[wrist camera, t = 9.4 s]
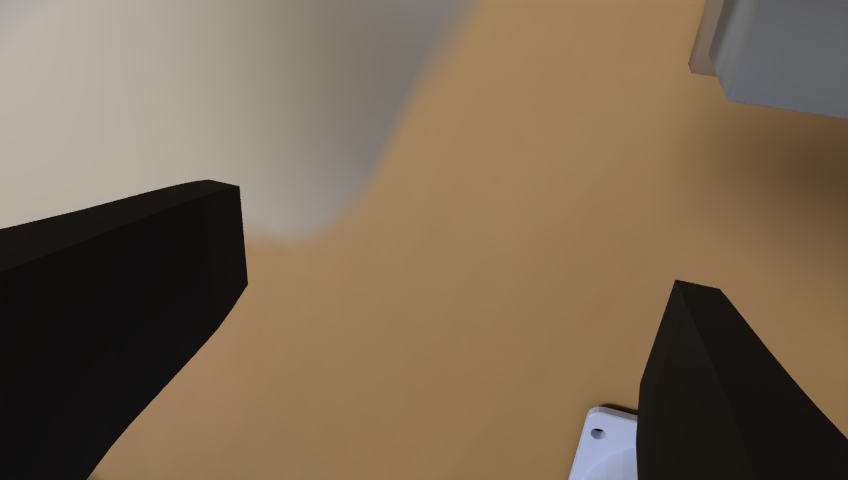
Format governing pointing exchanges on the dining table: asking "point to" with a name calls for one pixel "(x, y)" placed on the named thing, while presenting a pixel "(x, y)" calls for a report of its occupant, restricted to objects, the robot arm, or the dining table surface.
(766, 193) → the dining table surface
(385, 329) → the dining table surface
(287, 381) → the dining table surface
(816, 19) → the brown and grey piece
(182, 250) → the robot arm
